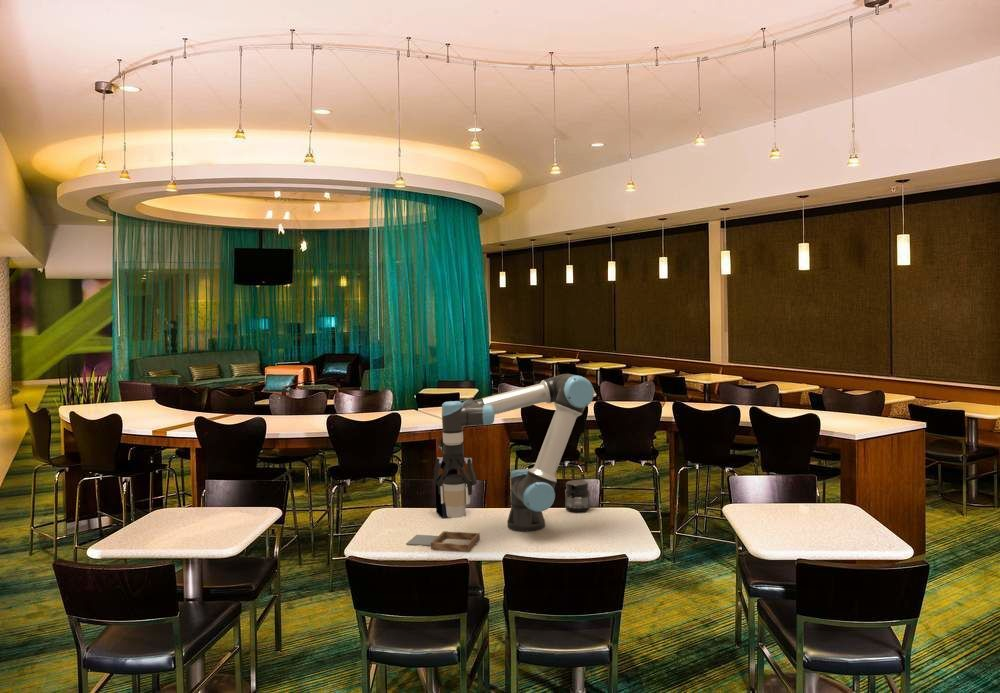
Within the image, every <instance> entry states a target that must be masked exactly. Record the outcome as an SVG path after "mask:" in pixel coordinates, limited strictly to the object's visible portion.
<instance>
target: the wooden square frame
mask: <svg viewBox="0 0 1000 693" xmlns="http://www.w3.org/2000/svg"><path fill="white" fill-rule="evenodd" d="M480 534H481V533H480V532H479V533H478V532H463V531H448V530H447V531H446V530H443V531H442V532H441V533H440V534H439V535H437V536H438V537H437V538H436V539H435V540H434V541H433V542H432V543H431V546H430V550H431V549H433V550H432V551H443V552H444V551H445V552H446V551H447V552H460V553H470V552H471V551H472V549H473V548H474V547H475V546H476V545H477V544H478V542H479V541H480V540H481V535H480ZM446 539H447V540H463V541H465V540H466V541H468V542H467V544H466V543H453V542H452V543H451V542H444V541H445V540H446ZM476 543H477V544H476Z"/></svg>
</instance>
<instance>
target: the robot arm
mask: <svg viewBox="0 0 1000 693" xmlns="http://www.w3.org/2000/svg"><path fill="white" fill-rule="evenodd" d="M594 395H595V390H594V387H593V384H592V383H591V382H590V380H589V379H587V378H586V377H583V376H581V375H576V374H572V373H563V374H559V375H555V376H552V377H549V378H546V379H543V380H541V381H540V383H536V384H533V385H529V386H525V387H521V388H518V389H513V390H510V391H506V392H501V393H498V394H493V395H489V396H485V397H482V398H479V399H478V398H477V399H475V400H472V399H471V400H470V399H469V400H465V401H463V402H462V401H459V400H455V401H454V400H453V401H452V400H450V401H445V402H443V403H442V404H441V423H442V426H441V427H442V439H443V443H445V444H444V445H443V452H442V453H443V455H444V456H442V457H439V456H438V457H436V459H435V465H436V468H435V467H434V468H435V472H434V474H433V479H432V484H433V485H435V486H436V485H438V493H439V494H441V504H443V503H445V498H444V486H443V485H442V484H443V479H445V477H446V475H447V473H448V471H449V469H452V468H455V469H456V470H458V472H460V475H462V476H463V478H464V480H465V482H466V487H465V488H466V506H467V505H469V504H470V503H471V496H472V494H473V486H475V485H476V484H477V483H478V482H477V478H476V474H475V471H474V466H473V457H465V452H464V450H465V449H464V443H463V442H464V427H474V426H477V427H478V426H486V425H492V424H494V422H495V417H496V416H495V415H500V414H502V413H503V414H504V413H506V412H511V411H515V410H518V409H523V408H526V407H530V406H533V405H538V404H541V403H546V404H552V403H553V405H554V407H555V411H554V413H553V416H552V419H551V421H550V424H549V427H548V428H547V432H546V435H545V437H544V440H543V443H542V445H541V448H540V451H539V452H538V455H537V459H536V461H535V464H534V465H533V467H531V468H521V469H515V470H511V472H510V478H509V480H510V502H511V503H510V506H511V507H510V511H509V514H508V518H507V522H506V523H507V524H506V526H507V528H508V529H509V530H511V531H514V532H516V531H517V532H524V533H525V532H535V531H540V530H542V529H544V528H545V526H546V522H545V518H544V514H543V512H545V511H546V510H548V509H550V508H551V507H552V505H553V504H554V503H555V502H554V501H555V499H556V492H555V487H556V484H557V478H556V473H557V470H558V468H559V465H560V463H561V460H562V457H563V455H564V452H565V450H566V447H567V444H568V442H569V439H570V436H571V434H572V431H573V428H574V426H575V423H576V420H577V418H578V417H580V416H582V415H583V413H584V410H585V408H586V407H587V406H589V405H590V404H591V403H592V401H593V399H594ZM442 461H444V463H445V464H446V466H445V468H444V471H442V473H441V469H442V468H441V463H442ZM464 462H465V464H466V465H467V470H468V471H466V469H465V465H464ZM467 472H468V473H467ZM440 473H441V474H442V475H441V474H440ZM440 475H441V478H440V480H439V481H438V479H439V476H440Z"/></svg>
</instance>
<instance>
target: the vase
mask: <svg viewBox="0 0 1000 693" xmlns="http://www.w3.org/2000/svg"><path fill="white" fill-rule="evenodd" d="M444 444H445V443H443V437H441V438H439V437H437V445H438V448H439V450H440V451H441V452H442V453H443V445H444ZM443 456H444V454H443ZM443 456H442V457H443ZM445 466H446V464H445V463H444V461H442V463H441V468H440V469H442V470H443V471H444V468H445ZM435 468H436V464H435V465H434V469H433V470H434V473H435ZM443 471H442V472H443ZM454 474H457V469H455V468H452V469H449V471H448V473H447V475H446V476H448V475H454ZM441 475H442V473H441V474H439V479H438V481H439V480H440V478H441ZM442 485H443V484H442ZM435 512H436V514H437V515H438V516H439V517H440V518H441V519H445V520H446V519H451V517H448V516H447V511H446V505H445V503H443V504H441V494H439V493H438V485H436V484H435ZM466 513H467V512H466V510H465V516H464V517H466V516H467V515H466Z"/></svg>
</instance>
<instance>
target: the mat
mask: <svg viewBox="0 0 1000 693" xmlns="http://www.w3.org/2000/svg"><path fill="white" fill-rule="evenodd" d="M438 536H439V535H429V534H416V535H414V536H413V537H412V538H411V539H409V540H408V541H407V542H406V543H405V545H406V544H407V545H406V546H417V545H422V546H421V547H431V543H432V542H433V541H434V540H435V539H436V538H437V537H438ZM408 544H409V545H408Z"/></svg>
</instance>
